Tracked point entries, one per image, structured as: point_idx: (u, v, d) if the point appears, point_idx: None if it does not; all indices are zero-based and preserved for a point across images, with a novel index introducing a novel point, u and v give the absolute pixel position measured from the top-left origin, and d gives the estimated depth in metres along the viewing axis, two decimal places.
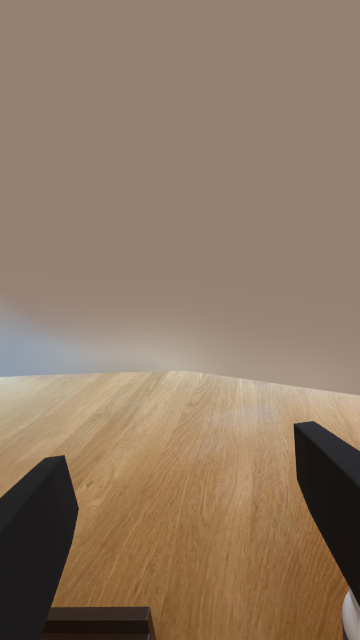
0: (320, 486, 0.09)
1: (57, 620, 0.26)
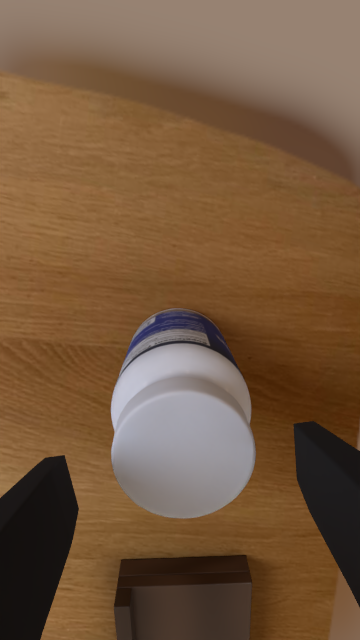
0: (320, 486, 0.09)
1: None
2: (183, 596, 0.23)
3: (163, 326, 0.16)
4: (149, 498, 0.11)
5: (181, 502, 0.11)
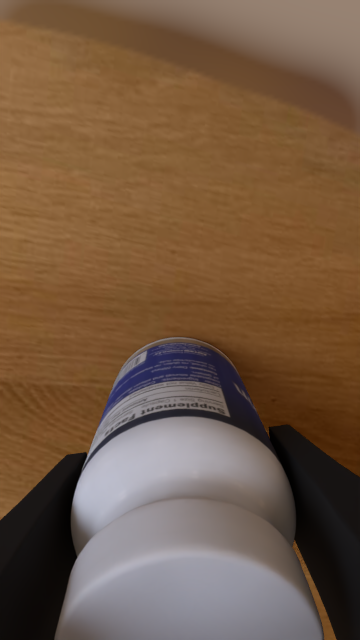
0: None
1: None
2: None
3: (156, 373, 0.11)
4: None
5: None
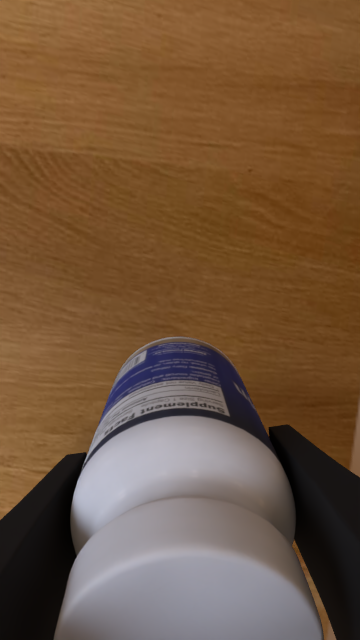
0: None
1: None
2: None
3: (156, 372, 0.11)
4: None
5: None
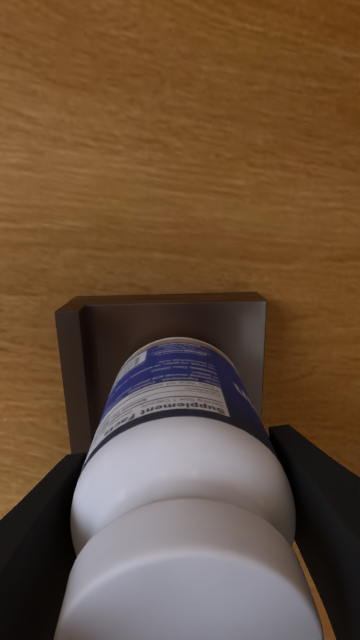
0: None
1: None
2: (163, 323, 0.15)
3: (156, 373, 0.11)
4: None
5: None
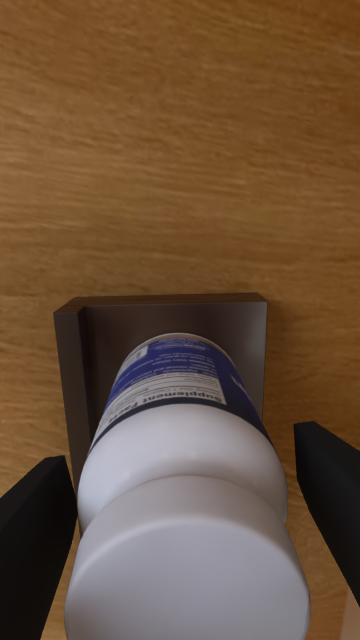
0: (320, 486, 0.09)
1: None
2: (163, 324, 0.15)
3: (157, 365, 0.11)
4: None
5: None
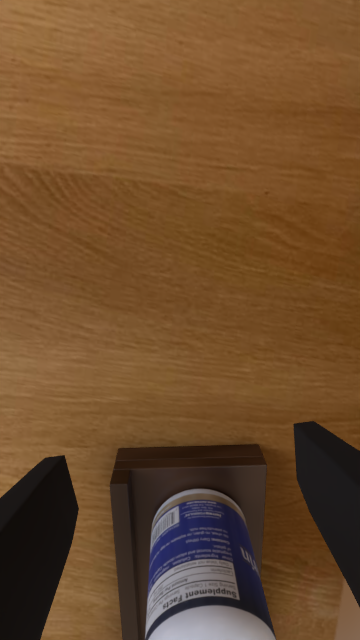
0: (320, 486, 0.09)
1: (133, 581, 0.21)
2: (188, 481, 0.20)
3: (190, 545, 0.16)
4: None
5: None
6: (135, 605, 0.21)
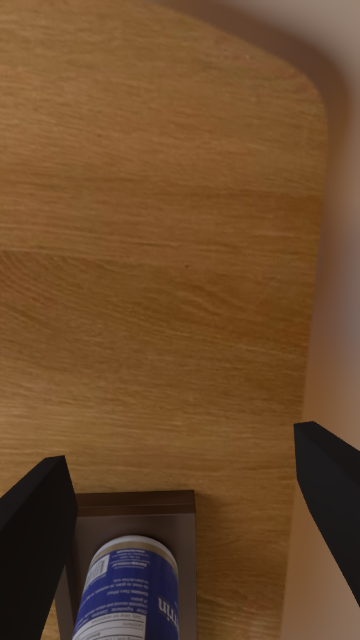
0: (320, 486, 0.09)
1: (73, 621, 0.22)
2: (122, 528, 0.22)
3: (110, 598, 0.18)
4: None
5: None
6: None
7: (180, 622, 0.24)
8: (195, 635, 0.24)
